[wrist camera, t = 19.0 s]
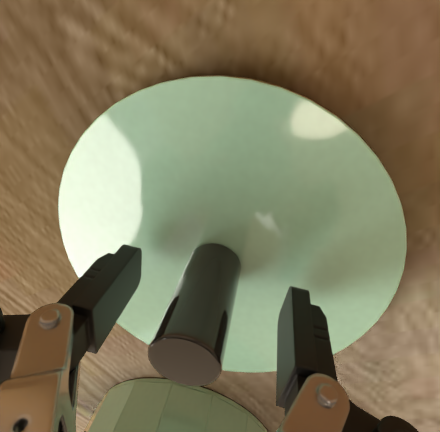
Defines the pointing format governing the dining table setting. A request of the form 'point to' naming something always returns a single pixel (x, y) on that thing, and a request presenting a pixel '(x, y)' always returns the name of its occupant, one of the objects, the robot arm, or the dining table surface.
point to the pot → (168, 409)
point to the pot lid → (233, 219)
